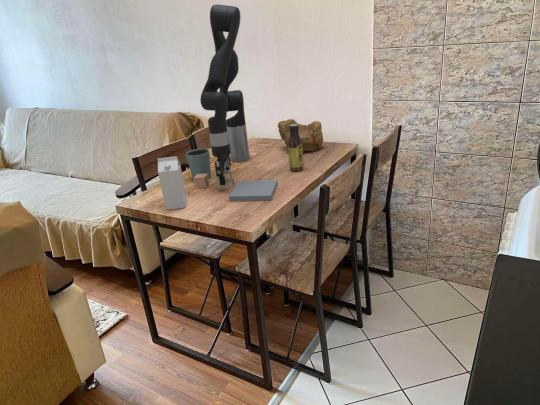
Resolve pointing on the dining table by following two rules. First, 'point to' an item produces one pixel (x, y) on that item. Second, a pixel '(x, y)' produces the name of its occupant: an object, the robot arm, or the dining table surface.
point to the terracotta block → (201, 181)
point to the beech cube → (228, 180)
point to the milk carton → (172, 183)
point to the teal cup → (199, 162)
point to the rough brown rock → (303, 134)
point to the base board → (254, 190)
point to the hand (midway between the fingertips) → (225, 181)
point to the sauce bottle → (295, 149)
